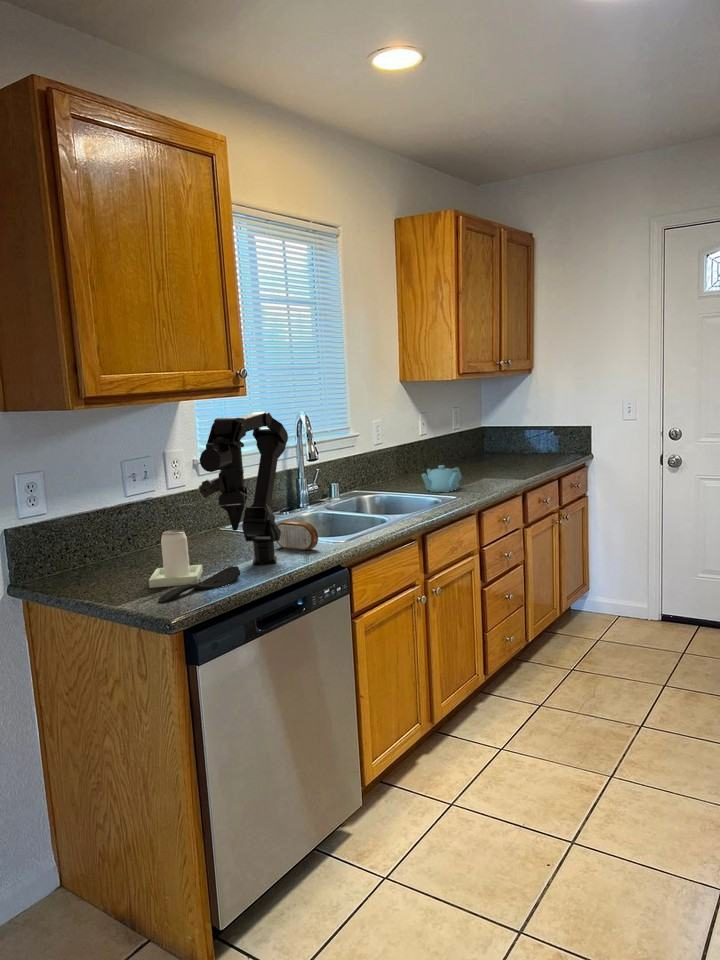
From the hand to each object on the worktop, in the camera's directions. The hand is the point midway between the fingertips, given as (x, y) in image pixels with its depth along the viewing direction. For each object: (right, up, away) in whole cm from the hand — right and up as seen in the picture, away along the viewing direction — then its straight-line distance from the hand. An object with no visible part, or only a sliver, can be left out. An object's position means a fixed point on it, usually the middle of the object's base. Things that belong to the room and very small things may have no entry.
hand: (236, 526), depth 191 cm
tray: (-16, -14, +2) cm, 21 cm away
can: (-16, -13, +2) cm, 21 cm away
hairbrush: (-8, -16, -9) cm, 19 cm away
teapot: (+66, +7, +122) cm, 139 cm away
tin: (+13, -9, +29) cm, 33 cm away
